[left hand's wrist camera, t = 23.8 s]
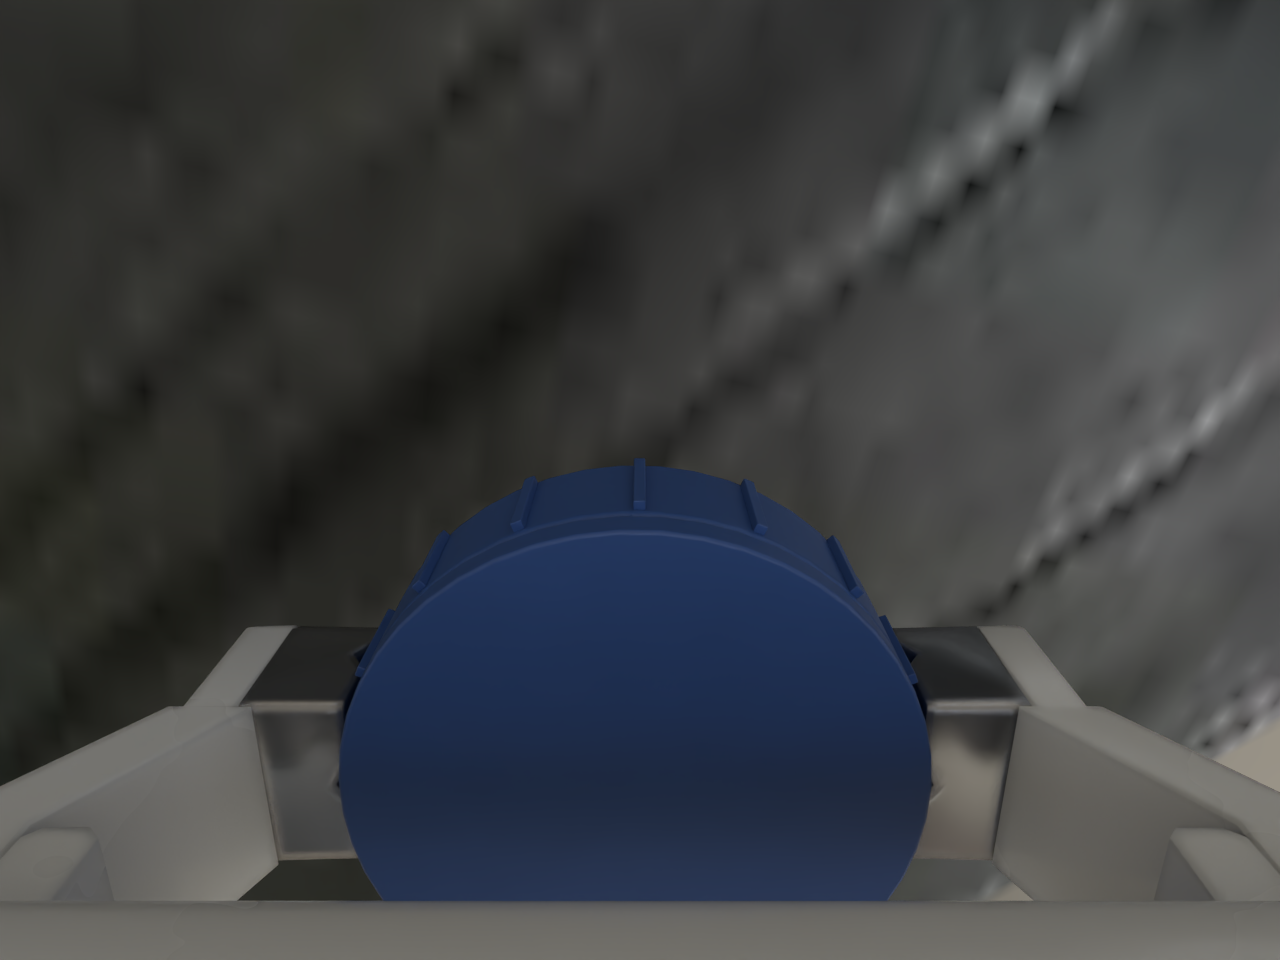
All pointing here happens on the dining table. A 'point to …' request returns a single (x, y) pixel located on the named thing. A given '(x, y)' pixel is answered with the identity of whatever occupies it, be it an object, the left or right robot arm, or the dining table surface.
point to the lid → (635, 707)
